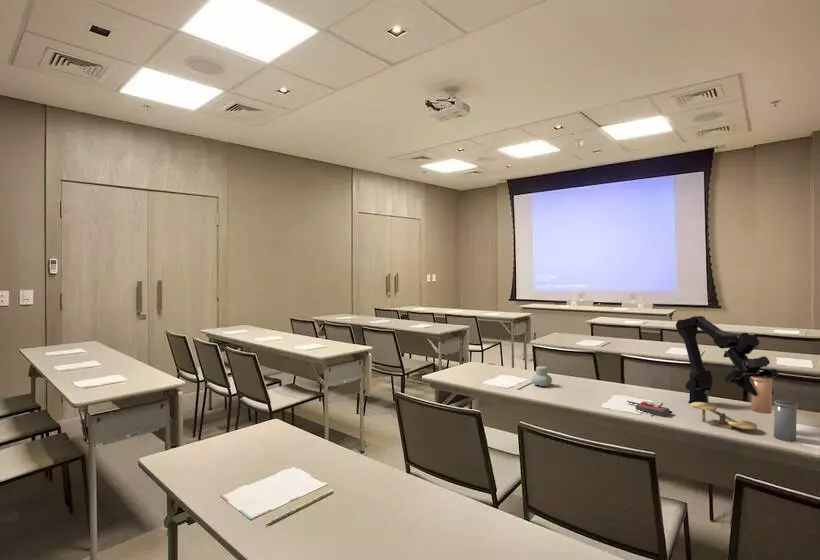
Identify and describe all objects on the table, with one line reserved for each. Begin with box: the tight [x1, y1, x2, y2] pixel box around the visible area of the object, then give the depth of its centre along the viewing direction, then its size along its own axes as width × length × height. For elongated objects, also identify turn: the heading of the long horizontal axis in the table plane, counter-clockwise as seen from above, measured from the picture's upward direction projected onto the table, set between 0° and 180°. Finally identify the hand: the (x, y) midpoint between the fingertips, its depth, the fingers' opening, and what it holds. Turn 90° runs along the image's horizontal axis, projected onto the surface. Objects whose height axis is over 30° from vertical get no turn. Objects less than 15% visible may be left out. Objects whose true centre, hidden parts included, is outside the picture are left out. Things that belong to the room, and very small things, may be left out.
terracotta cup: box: [750, 376, 774, 415], centre depth 172 cm, size 7×7×13 cm
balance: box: [690, 402, 758, 431], centre depth 176 cm, size 22×9×7 cm, turn 39°
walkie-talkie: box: [626, 400, 673, 418], centre depth 197 cm, size 9×4×20 cm
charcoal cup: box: [773, 399, 799, 442], centre depth 162 cm, size 7×7×13 cm
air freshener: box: [531, 365, 553, 387], centre depth 243 cm, size 11×8×10 cm
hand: (764, 395), depth 170 cm, fingers closed on terracotta cup, 6 cm apart
